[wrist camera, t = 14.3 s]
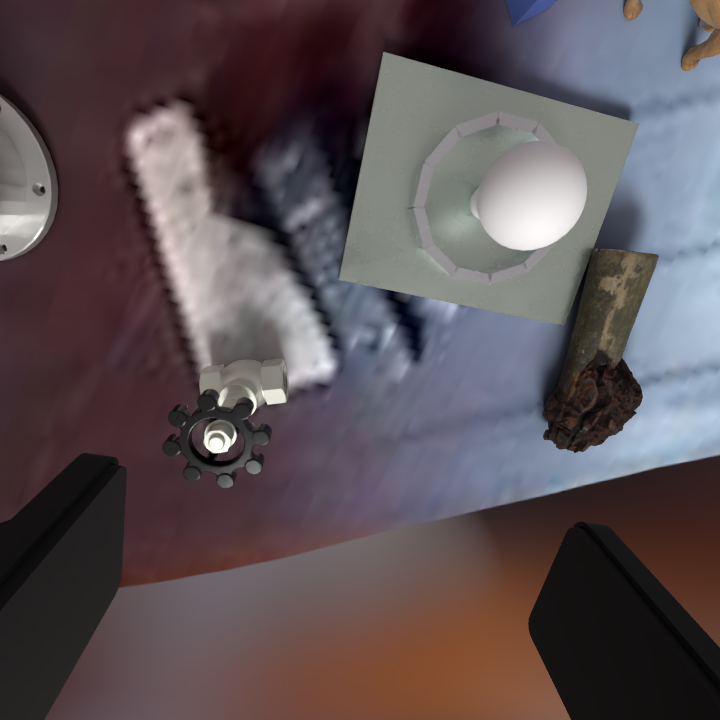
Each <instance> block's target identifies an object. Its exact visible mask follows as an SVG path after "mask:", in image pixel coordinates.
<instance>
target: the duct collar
mask: <svg viewBox="0 0 720 720" xmlns="http://www.w3.org/2000/svg"><path fill="white" fill-rule="evenodd" d="M638 126H639V124H638V123H635V122H631V121H627V120H624V119H620V118H617V117H613V116H610V115H606V114H603V113H599V112H595V111H592V110H588V109H585V108H581V107H578V106H574V105H571V104H567V103H564V102H560V101H556V100H553V99H549V98H546V97H542V96H539V95H535V94H532V93H528V92H524V91H521V90H517V89H514V88H510V87H507V86H503V85H500V84H496V83H492V82H489V81H485V80H482V79H478V78H475V77H471V76H468V75H464V74H461V73H457V72H453V71H450V70H446V69H443V68H439V67H436V66H432V65H429V64H425V63H421V62H418V61H414V60H411V59H407V58H404V57H400V56H397V55H393V54H389V53H386V52H383V55H382V58H381V63H380V68H379V73H378V79H377V84H376V89H375V94H374V99H373V104H372V109H371V115H370V120H369V125H368V130H367V135H366V140H365V145H364V150H363V156H362V161H361V166H360V171H359V176H358V181H357V186H356V192H355V197H354V202H353V207H352V212H351V217H350V222H349V227H348V233H347V238H346V243H345V248H344V253H343V258H342V263H341V269H340V274H339V280H343V281H348V282H353V283H358V284H363V285H368V286H373V287H377V288H382V289H387V290H392V291H397V292H402V293H407V294H412V295H416V296H421V297H426V298H431V299H436V300H441V301H446V302H451V303H455V304H460V305H465V306H470V307H475V308H480V309H485V310H490V311H495V312H499V313H504V314H509V315H514V316H519V317H524V318H529V319H534V320H538V321H543V322H548V323H553V324H558V325H563V326H565V324H566V321H567V318H568V315H569V313H570V310H571V307H572V305H573V302H574V299H575V296H576V294H577V291H578V288H579V286H580V283H581V280H582V278H583V275H584V272H585V269H586V267H587V264H588V261H589V259H590V256H591V253H592V250H593V248H594V245H595V242H596V240H597V237H598V234H599V231H600V229H601V226H602V223H603V221H604V218H605V215H606V212H607V210H608V207H609V204H610V202H611V199H612V196H613V194H614V191H615V188H616V185H617V183H618V180H619V177H620V175H621V172H622V169H623V166H624V164H625V161H626V158H627V156H628V153H629V150H630V147H631V145H632V142H633V139H634V137H635V134H636V131H637V129H638ZM530 141H548V142H553V143H556V144H559V145H561V146H563V147H565V148H567V149H568V150H569V151H571V152H572V153H573V154H574V155H575V156H576V157H577V158H578V160H579V161H580V162H581V164H582V166H583V168H584V171H585V175H586V179H587V197H586V202H585V205H584V209H583V211H582V213H581V215H580V217H579V219H578V220H577V222H576V223H575V225H574V226H573V227H572V228H571V229H570V230H569V232H568V233H567V234H565V235H564V236H563V237H561V238H560V239H559V240H557V241H556V242H554V243H552V244H550V245H548V246H545V247H542V248H538V249H535V250H525V251H523V250H516V249H510V248H507V247H505V246H502V245H501V244H499V243H498V242H496V241H495V240H494V239H493V238H492V237H491V236H490V235H489V234H488V233H487V232H486V231H485V229H484V227H483V226H482V224H481V221H480V219H478V218H476V217H475V216H474V215H473V213H472V212H471V209H470V200H471V197H472V195H473V193H474V192H475V191H476V190H477V189H478V188H479V186H480V184H481V181H482V179H483V177H484V175H485V173H486V172H487V170H488V169H489V167H490V166H491V165H492V164H493V163H494V161H495V160H496V159H497V158H498V157H499V156H500V155H502V154H503V153H504V152H506V151H507V150H509V149H511V148H513V147H515V146H517V145H519V144H522V143H526V142H530Z"/></svg>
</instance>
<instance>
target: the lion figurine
mask: <svg viewBox="0 0 720 720" xmlns="http://www.w3.org/2000/svg"><path fill="white" fill-rule="evenodd" d="M690 4H691V6H692V7H693V9H694V11H695V13H696V14H697V15H698V16H699V18H701V20H700V22H699V27H700V28H701V29H702V30H703V31H705V32H710V31H712V30H713V29H714V28H715V30H714V31H713V32H712V34H711V35H710V37H709V38H708V39H707V40H706V41H705V42H703V43H701V44H699V45H696V46H693V47H691V48H690V49H689V50H688V52H687V53H686V54H685V55H684V56H683V58H682V69H683V70H684V71H689V70H692V69H693V68H694V67H696V66H697V65H698V62H699V61H700V59H702V58H706V57H712V56H715V55H718V54H720V0H690ZM642 8H643V5H642V3H641V1H640V0H627V1H626V3H625V6H624V16H625V18H626V19H627V20H634V19H635V18H636V17H637V16H638V15H639V14H640V12H641V11H642Z"/></svg>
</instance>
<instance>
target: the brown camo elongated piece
mask: <svg viewBox="0 0 720 720" xmlns="http://www.w3.org/2000/svg"><path fill="white" fill-rule="evenodd" d="M658 257H659V256H658V255H656V254H650V253H639V252H634V251H624V250H616V249H601V250H600V249H598V248H593V250H592V253H591V257H590V262H589V265H588V270H587V274H586V279H585V283H584V289H583V292H582V296H581V300H580V304H579V308H578V313H577V318H576V322H575V326H574V329H573V333H572V336H571V340H570V344H569V348H568V352H567V356H566V360H565V364H564V367H563V371H562V375H561V378H560V382H559V384H558V386H557V387H556V389H555V390H554V391H553V393H552V394H551V395H550V396H549V398H548V399H547V400H546V402H545V405H544V408H545V409H544V412H543V416H544V417H545V418H546V419H547V421H548V427H549V429H548V430H546V431H545V433H544V435H543V438H544V440H551V441H553V443H554V444H556V447H557V448H558V449H567V450H570V451H574V453H576V452H578V451H581V452H584V451H586V450H587V449H588V448H589V447H590V446H591V445H592V446H597V445H600V444H602V443H603V442H604V441H605V440H606V439H607V438H608V436H612V435H616V434H617V433H618V432H619V431H622V430H623V425H624V424H625V423H626V422H627V421H628V420H629V419H631V418H632V417H633V416H634V415H635V414H636V412H635V411H634V410H635V409H636V408H638V407H639V406H640V404H641V402H642V398H643V396H642V390H641V387H640V385H639V384H638V383H637V381H636V379H635V378H634V377H633V375H632V372H631V371H630V370H629V368H628V366H627V364H626V363H625V361H624V360H623V359H622V355H623V352H624V349H625V347H626V344H627V341H628V338H629V335H630V332H631V330H632V327H633V325H634V322H635V319H636V317H637V314H638V312H639V309H640V306H641V303H642V301H643V298H644V296H645V293H646V290H647V288H648V285H649V282H650V280H651V277H652V275H653V272H654V269H655V267H656V264H657V260H658Z"/></svg>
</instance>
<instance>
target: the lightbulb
mask: <svg viewBox="0 0 720 720" xmlns="http://www.w3.org/2000/svg"><path fill="white" fill-rule="evenodd" d="M586 197H587V179H586V175H585V171H584V168H583V166H582V164H581V162H580V161H579V160H578V158H577V157H576V156H575V155H574V154H573V153H572V152H571V151H569V150H568V149H567V148H565V147H563V146H561V145H559V144H556V143H553V142H548V141H530V142H526V143H522V144H519V145H517V146H515V147H513V148H511V149H509V150H507V151H506V152H504V153H503V154H502V155H500V156H499V157H498V158H497V159H496V160H495V161H494V163H493V164H492V165H491V166H490V167H489V169H488V170H487V172H486V173H485V175H484V177H483V179H482V181H481V184H480V186H479V188H478V189H477V190H476V191H475V192H474V193H473V195H472V197H471V200H470V209H471V212H472V213H473V215H474V216H475V217H476V218H478V219H480V221H481V224H482V226H483V227H484V229H485V231H486V232H487V233H488V234H489V235H490V236H491V237H492V238H493V239H494V240H495V241H496V242H498V243H499V244H501V245H502V246H505V247H507V248H510V249H516V250H523V251H525V250H535V249H538V248H542V247H545V246H548V245H550V244H552V243H554V242H556V241H557V240H559V239H560V238H561V237H563V236H564V235H565V234H567V233H568V232H569V230H570V229H571V228H572V227H573V226H574V225H575V223H576V222H577V220H578V219H579V217H580V215H581V213H582V211H583V209H584V205H585V202H586Z"/></svg>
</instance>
